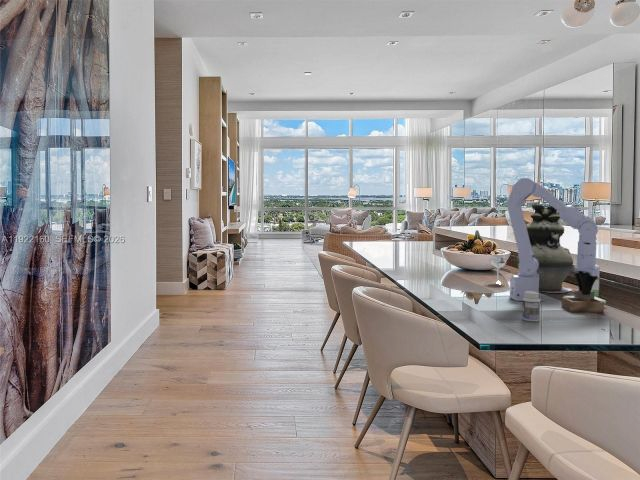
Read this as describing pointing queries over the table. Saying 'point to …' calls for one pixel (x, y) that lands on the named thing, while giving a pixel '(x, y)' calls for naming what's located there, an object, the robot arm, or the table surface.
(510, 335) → the table surface
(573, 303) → the box
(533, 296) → the pill bottle
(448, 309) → the table surface
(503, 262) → the wineglass
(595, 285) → the ink box
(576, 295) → the lid
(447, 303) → the table surface
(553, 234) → the decorative urn
